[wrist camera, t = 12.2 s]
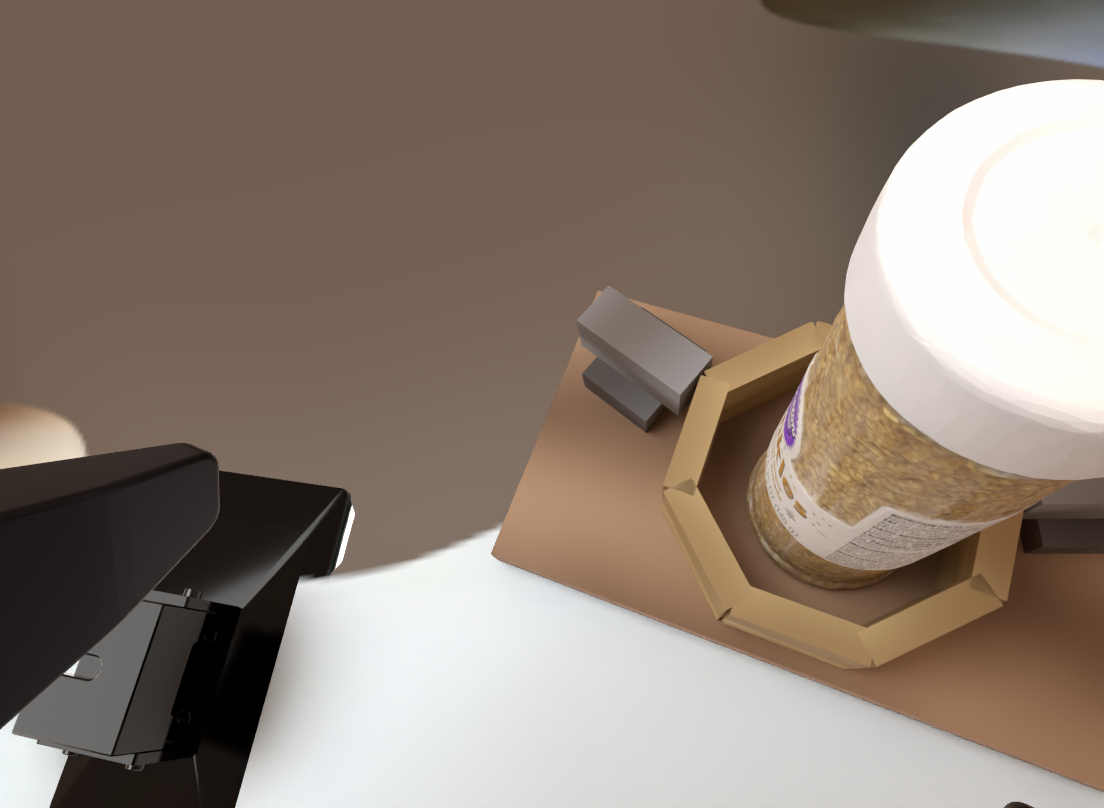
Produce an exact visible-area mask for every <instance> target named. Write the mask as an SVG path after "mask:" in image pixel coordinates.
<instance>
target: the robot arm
mask: <svg viewBox="0 0 1104 808" xmlns="http://www.w3.org/2000/svg"><path fill="white" fill-rule="evenodd" d="M218 468H219V467H218V462H217V459H216V457H215V456H214V455H213V454H212V453H210V452H208V451H206V450H203V449H201V448H198V447H196V446H194V445H192V444H188V443H176V444H169V445H162V446H155V447H148V448H142V449H136V450H128V451H121V452H114V453H108V454H101V455H94V456H87V457H80V458H74V459H67V460H60V461H53V462H47V463H40V464H33V465H26V466H19V467H13V468H6V469H0V729H1V728H2V727H4V726H5V725H6V724H7V723H8V722H9V721H10V720H12V719H13V718H14V717H15V716H16V715H17V714H18V713H19V712H21V711H22V710H23V709H24V708H25V707H26V706H27V705H29V704H30V703H31V702H32V701H33V700H34V699H35V698H37V697H38V696H39V695H40V694H41V693H42V692H43V691H44V690H46V689H47V688H48V687H49V686H50V685H51V684H52V683H54V682H55V681H56V680H57V679H58V678H59V677H60V676H61V675H63V674H64V673H65V672H66V671H67V670H68V669H69V668H71V667H72V666H73V665H74V664H75V663H76V662H77V661H78V660H80V659H81V658H82V657H83V656H84V655H85V654H86V653H88V652H89V651H90V650H91V649H92V648H93V647H94V646H96V645H97V644H98V643H99V642H100V641H101V640H102V639H103V638H105V637H106V636H107V635H108V634H109V633H110V632H111V631H112V630H113V629H114V628H115V627H117V626H118V625H119V624H120V623H121V622H122V621H123V620H124V619H125V618H126V617H127V616H128V615H129V614H130V613H131V612H132V611H133V610H134V609H135V608H136V607H137V606H138V605H139V604H140V603H141V602H142V601H143V599H144V598H145V597H146V596H147V595H148V594H149V593H150V592H151V591H152V590H153V589H154V588H155V587H156V586H157V585H158V584H159V583H160V582H161V581H162V579H163V578H164V577H165V576H166V575H167V574H168V573H169V572H170V571H171V570H172V569H173V568H174V567H175V566H176V565H177V564H178V563H179V562H180V560H181V559H182V558H183V557H184V556H185V555H186V554H187V553H188V552H189V551H190V550H191V549H192V548H193V547H194V546H195V545H196V544H197V543H198V541H199V540H200V539H201V538H202V537H203V536H204V535H205V534H206V533H207V532H208V531H209V530H210V529H211V527H212V526H213V524H214V523H215V521H216V519H217V517H218V513H219V507H220V504H219V469H218ZM1004 808H1034V807H1031V806H1029V805H1027V804H1024V803H1022V802H1011V803H1009V804H1007V805H1006V806H1005V807H1004Z"/></svg>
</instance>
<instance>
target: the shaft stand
mask: <svg viewBox="0 0 1104 808" xmlns="http://www.w3.org/2000/svg"><path fill="white" fill-rule="evenodd" d="M577 325H578V329H579V334H580V336H579V339H578V341H577V343H576V346H575V348H574V351H573V353H572V356H571V358H570V361H569V363H568V366H567V368H566V370H565V373H564V375H563V378H562V380H561V383H560V385H559V388H558V390H557V393H556V395H555V397H554V400H553V403H552V405H551V407H550V410H549V412H548V415H547V418H546V420H545V422H544V425H543V427H542V430H541V432H540V434H539V437H538V439H537V442H536V444H535V447H534V449H533V452H532V454H531V457H530V459H529V461H528V464H527V466H526V469H525V471H524V474H523V476H522V479H521V481H520V484H519V486H518V489H517V491H516V493H515V496H514V498H513V501H512V503H511V506H510V508H509V511H508V513H507V516H506V518H505V520H504V523H503V525H502V528H501V530H500V533H499V535H498V538H497V540H496V543H495V545H494V547H493V550H492V552H491V554H492V555H493V556H494V557H495V558H496V559H498V560H500V561H503V562H505V563H508V564H511V565H513V566H516V567H518V568H521V569H524V570H526V571H529V572H531V573H534V574H537V575H539V576H542V577H544V578H547V579H550V580H552V581H555V582H558V583H560V584H563V585H565V586H568V587H571V588H573V589H576V590H578V591H581V592H584V593H586V594H589V595H591V596H594V597H597V598H599V599H602V600H605V601H607V602H610V603H612V604H615V605H618V606H620V607H623V608H625V609H628V610H631V611H633V612H636V613H638V614H641V615H644V616H646V617H649V618H652V619H654V620H657V621H659V622H662V623H665V624H667V625H670V626H672V627H675V628H678V629H680V630H683V631H685V632H688V633H691V634H693V635H696V636H699V637H701V638H704V639H706V640H709V641H712V642H714V643H717V644H719V645H722V646H725V647H727V648H730V649H732V650H735V651H738V652H740V653H743V654H746V655H748V656H751V657H753V658H756V659H759V660H761V661H764V662H766V663H769V664H772V665H774V666H777V667H779V668H782V669H785V670H787V671H790V672H793V673H795V674H798V675H800V676H803V677H806V678H808V679H811V680H813V681H816V682H819V683H821V684H824V685H826V686H829V687H832V688H834V689H837V690H840V691H842V692H845V693H847V694H850V695H853V696H855V697H858V698H860V699H863V700H866V701H868V702H871V703H873V704H876V705H879V706H881V707H884V708H886V709H889V710H892V711H894V712H897V713H900V714H902V715H905V716H907V717H910V718H913V719H915V720H918V721H920V722H923V723H926V724H928V725H931V726H933V727H936V728H939V729H941V730H944V731H947V732H949V733H952V734H954V735H957V736H960V737H962V738H965V739H967V740H970V741H973V742H975V743H978V744H980V745H983V746H986V747H988V748H991V749H994V750H996V751H999V752H1001V753H1004V754H1007V755H1009V756H1012V757H1014V758H1017V759H1020V760H1022V761H1025V762H1027V763H1030V764H1033V765H1035V766H1038V767H1041V768H1043V769H1046V770H1048V771H1051V772H1054V773H1056V774H1059V775H1061V776H1064V777H1067V778H1069V779H1072V780H1074V781H1077V782H1080V783H1082V784H1085V785H1088V786H1090V787H1093V788H1095V789H1098V790H1101V791H1103V792H1104V477H1101V478H1092V479H1083V480H1077V481H1074V482H1072V483H1070V484H1068V485H1067V486H1065V487H1063V488H1062V489H1060V490H1058V491H1056V492H1054V493H1052V494H1049V495H1047V496H1045V497H1044V498H1043V499H1041V500H1040V501H1039V502H1037V503H1035V504H1034V505H1032V506H1030V507H1028V508H1027V509H1025V510H1023V511H1021V512H1019V513H1018V514H1016V515H1014V516H1011V517H1009V518H1007V519H1005V520H1003V521H1001V522H998V523H996V524H994V525H992V526H990V527H988V528H985V529H983V530H981V531H979V532H977V533H975V534H972V535H970V536H968V537H966V538H964V539H962V540H960V541H958V542H956V543H954V544H952V545H950V546H948V547H946V548H944V549H941V550H939V551H937V552H935V553H933V554H931V555H929V556H926V557H924V558H922V559H920V560H918V561H916V562H914V563H911V564H908V565H905V566H902V567H899V568H897V569H896V570H895V571H894V572H893V573H891V574H890V575H889V576H887V577H886V578H884V579H882V580H880V581H879V582H877V583H875V584H872V585H869V586H865V587H861V588H856V589H836V590H828V589H825V588H822V587H819V586H816V585H812V584H809V583H807V582H804V581H802V580H800V579H797V578H796V577H794V576H793V575H791V574H790V573H788V572H787V571H785V570H783V569H781V568H780V567H779V566H778V565H777V564H776V563H775V562H774V561H773V560H772V559H771V558H770V557H769V556H768V555H767V554H766V553H765V551H764V550H763V549H762V547H761V545H760V544H759V542H758V540H757V538H756V536H755V534H754V531H753V529H752V527H751V524H750V521H749V517H748V511H747V501H746V493H747V490H748V485H749V479H750V475H751V473H752V471H753V469H754V467H755V466H756V464H757V462H758V460H759V458H760V457H761V456H762V454H763V453H764V452H765V451H766V450H767V449H768V448H769V445H770V442H771V439H772V437H773V435H774V432H775V430H776V428H777V427H778V425H779V423H780V421H781V419H782V417H783V416H784V414H785V412H786V410H787V408H788V407H789V405H790V403H791V401H792V399H793V397H794V395H795V393H796V391H797V389H798V387H799V385H800V383H801V381H802V379H803V377H804V375H805V373H806V371H807V369H808V367H809V365H810V363H811V361H812V359H813V358H814V356H815V354H816V353H817V352H818V351H819V350H820V349H821V348H822V347H823V344H824V342H825V340H826V338H827V336H828V334H829V332H830V330H831V328H832V326H833V325H830V324H827V323H823V322H819V321H817V323H816V325H814V324H813V322H810V323H808V324H805V325H803V326H801V327H799V328H797V329H795V330H792V331H790V332H788V333H786V334H784V335H782V336H779V337H777V338H775V339H774V338H770V337H766V336H763V335H759V334H755V333H752V332H748V331H744V330H741V329H737V328H733V327H730V326H726V325H722V324H718V323H715V322H711V321H708V320H704V319H701V318H697V317H693V316H689V315H686V314H682V313H679V312H675V311H671V310H668V309H664V308H660V307H657V306H653V305H649V304H646V303H641V302H638V301H635V300H631V299H628V298H626V297H625V296H623V295H622V294H620V293H619V292H617V291H616V290H615V289H613V288H612V287H610V286H608V287H607V288H606V289H605V290H604V291H603V292H602V291H598V292H597V294H596V297H595V299H594V302H593V303H592V304H591V306H589V308H588V309H587V310H586V311H585V312H584V313H583V314H582V315H581V316H580V317H579V319H578V320H577Z"/></svg>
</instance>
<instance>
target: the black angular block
mask: <svg viewBox="0 0 1104 808" xmlns="http://www.w3.org/2000/svg"><path fill="white" fill-rule="evenodd" d="M219 504H220V507H219V513H218V517H217V519H216V521H215V523H214V524H213V526H212V527H211V529H210V530H209V531H208V532H207V533H206V534H205V535H204V536H203V537H202V538H201V539H200V540H199V541H198V543H197V544H196V545H195V546H194V547H193V548H192V549H191V550H190V551H189V552H188V553H187V554H186V555H185V556H184V557H183V558H182V559H181V560H180V562H179V563H178V564H177V565H176V566H175V567H174V568H173V569H172V570H171V571H170V572H169V573H168V574H167V575H166V576H165V577H164V578H163V579H162V581H161V582H160V583H159V584H158V585H157V586H156V587H155V588H154V589H153V590H152V591H151V592H150V593H149V594H148V595H147V596H146V597H145V598H144V599H143V601H142V602H141V603H140V604H139V605H138V606H137V607H136V608H135V609H134V610H133V611H132V612H131V613H130V614H129V615H128V616H127V617H126V618H125V619H124V620H123V621H122V622H121V623H120V624H119V625H118V626H117V627H115V628H114V629H113V630H112V631H111V632H110V633H109V634H108V635H107V636H106V637H105V638H103V639H102V640H101V641H100V642H99V643H98V644H97V645H96V646H94V647H93V648H92V649H91V650H90V651H89V652H88V653H86V654H85V655H84V656H83V657H82V658H81V659H80V660H79V663H78V665H77V668H76V671H75V673H74V674H70V673H66V672H65V673H64V674H63V675H61V676H60V677H59V678H58V679H57V680H56V681H55V682H54V683H52V684H51V685H50V686H49V687H48V688H47V689H46V690H44V691H43V692H42V693H41V694H40V695H39V696H38V697H37V698H35V699H34V700H33V701H32V702H31V703H30V704H29V705H27V706H26V707H25V708H24V709H23V710H22V711H21V712H19V715H18V717H17V720H16V722H15V725H14V728H13V730H12V733H13V734H15V735H19V736H23V737H28V738H32V739H36V740H38V741H37V744H41V745H45V746H49V747H54V748H58V749H62V750H63V751H62V753H63V754H65V755H68V758H67V761H66V764H65V766H64V769H63V772H62V775H61V777H60V780H59V783H58V786H57V788H56V791H55V794H54V797H53V799H52V802H51V805H50V808H235V806H236V802H237V798H238V795H239V791H240V788H241V784H242V780H243V777H244V773H245V770H246V766H247V763H248V759H249V755H250V752H251V748H252V745H253V741H254V738H255V734H256V730H257V727H258V723H259V720H260V716H261V712H262V709H263V705H264V702H265V698H266V695H267V691H268V687H269V684H270V680H271V677H272V673H273V669H274V666H275V662H276V659H277V655H278V652H279V648H280V644H281V641H282V637H283V634H284V630H285V626H286V623H287V619H288V616H289V612H290V609H291V605H292V601H293V598H294V594H295V591H296V587H297V584H298V581H311V580H319V579H329V578H330V576H331V574H332V573H333V572H334V570H335V569H336V568H337V567H338V566H339V565H340V564H341V563H342V561H343V558H344V554H345V551H346V547H347V543H348V539H349V535H350V532H351V528H352V524H353V521H354V516H355V512H354V508H353V505H352V501H351V494H350V493H349V492H348V491H347V490H345V489H343V488H337V487H330V486H322V485H316V484H309V483H302V482H295V481H288V480H281V479H275V478H267V477H261V476H254V475H247V474H240V473H233V472H226V471H219Z"/></svg>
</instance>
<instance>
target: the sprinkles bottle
mask: <svg viewBox="0 0 1104 808" xmlns="http://www.w3.org/2000/svg"><path fill="white" fill-rule="evenodd" d="M844 300H845V302H844V305H843V307H842V309H841V311H840V312H839V314H838V315H837V317H836V318H835V321H834V324H833V326H832V328H831V330H830V332H829V334H828V336H827V338H826V340H825V342H824V344H823V347H822V348H821V349H820V350H819V351H818V352H817V353H816V354H815V356H814V358H813V359H812V361H811V363H810V365H809V367H808V369H807V371H806V373H805V375H804V377H803V379H802V381H801V383H800V385H799V387H798V389H797V391H796V393H795V395H794V397H793V399H792V401H791V403H790V405H789V407H788V408H787V410H786V412H785V414H784V416H783V417H782V419H781V421H780V423H779V425H778V427H777V428H776V430H775V432H774V435H773V437H772V439H771V442H770V445H769V448H768V449H767V450H766V451H765V452H764V453H763V454H762V456H761V457H760V458H759V460H758V462H757V464H756V466H755V467H754V469H753V471H752V473H751V475H750V479H749V485H748V490H747V493H746V501H747V511H748V517H749V521H750V524H751V527H752V529H753V531H754V534H755V536H756V538H757V540H758V542H759V544H760V545H761V547H762V549H763V550H764V551H765V553H766V554H767V555H768V556H769V557H770V558H771V559H772V560H773V561H774V562H775V563H776V564H777V565H778V566H779V567H780V568H781V569H783V570H785V571H787V572H788V573H790V574H791V575H793V576H794V577H796V578H797V579H800V580H802V581H804V582H807V583H809V584H812V585H816V586H819V587H822V588H825V589H828V590H836V589H856V588H861V587H865V586H869V585H872V584H875V583H877V582H879V581H880V580H882V579H884V578H886V577H887V576H889V575H890V574H891V573H893V572H894V571H895V570H896V569H897V568H899V567H902V566H905V565H908V564H911V563H914V562H916V561H918V560H920V559H922V558H924V557H926V556H929V555H931V554H933V553H935V552H937V551H939V550H941V549H944V548H946V547H948V546H950V545H952V544H954V543H956V542H958V541H960V540H962V539H964V538H966V537H968V536H970V535H972V534H975V533H977V532H979V531H981V530H983V529H985V528H988V527H990V526H992V525H994V524H996V523H998V522H1001V521H1003V520H1005V519H1007V518H1009V517H1011V516H1014V515H1016V514H1018V513H1019V512H1021V511H1023V510H1025V509H1027V508H1028V507H1030V506H1032V505H1034V504H1035V503H1037V502H1039V501H1040V500H1041V499H1043V498H1044V497H1045V496H1047V495H1049V494H1052V493H1054V492H1056V491H1058V490H1060V489H1062V488H1063V487H1065V486H1067V485H1068V484H1070V483H1072V482H1074V481H1077V480H1083V479H1092V478H1101V477H1104V81H1103V80H1077V79H1075V80H1057V81H1046V82H1039V83H1032V84H1026V85H1020V86H1017V87H1013V88H1009V89H1005V90H1002V91H998V92H995V93H992V94H990V95H987V96H985V97H981V98H979V99H976V100H974V101H972V102H970V103H968V104H966V105H964V106H962V107H960V108H958V109H956V110H954V111H952V112H951V113H949V114H948V115H946V116H945V117H944V118H943V119H941V120H940V121H938V122H937V123H936V124H935V125H933V126H932V127H931V128H930V129H928V130H927V131H926V132H925V133H924V134H923V135H922V136H921V137H920V138H919V139H918V140H917V141H916V142H915V143H913V144H912V146H910V147H909V149H908V150H907V151H906V153H905V154H904V155H903V156H902V158H901V159H900V161H899V162H898V163H897V165H896V166H895V168H894V170H893V172H892V174H891V175H890V177H889V179H888V181H887V182H886V184H885V186H884V188H883V190H882V191H881V193H880V195H879V197H878V199H877V201H876V203H875V205H874V207H873V209H872V211H871V213H870V215H869V217H868V219H867V221H866V224H865V226H864V228H863V230H862V233H861V235H860V237H859V239H858V241H857V244H856V246H855V248H854V251H853V254H852V256H851V259H850V263H849V267H848V271H847V275H846V285H845V295H844Z"/></svg>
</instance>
